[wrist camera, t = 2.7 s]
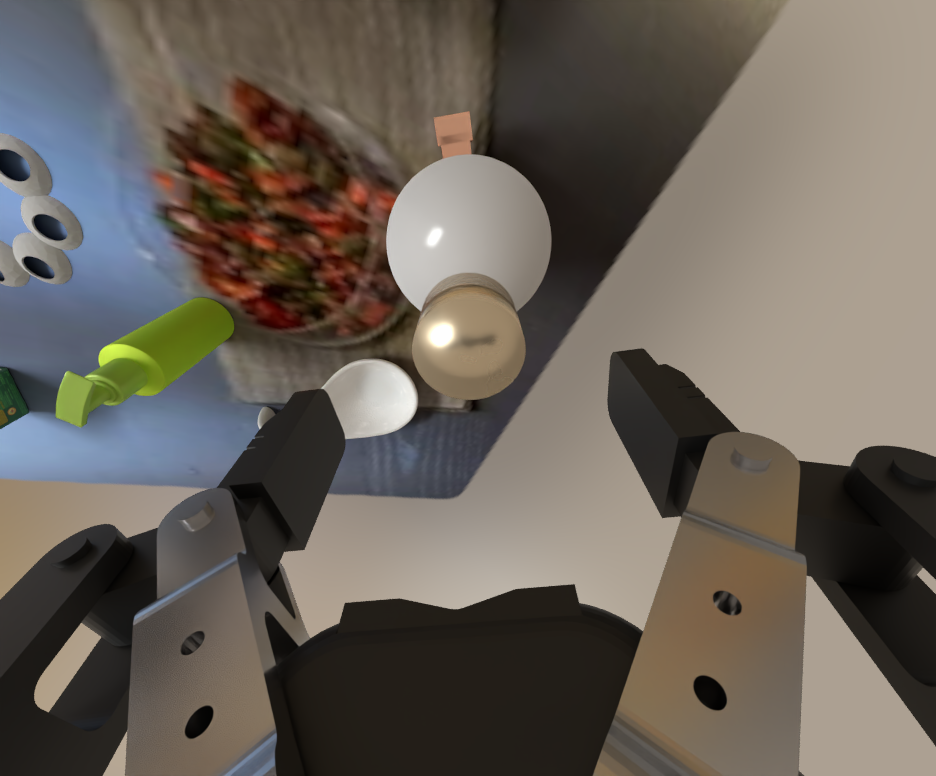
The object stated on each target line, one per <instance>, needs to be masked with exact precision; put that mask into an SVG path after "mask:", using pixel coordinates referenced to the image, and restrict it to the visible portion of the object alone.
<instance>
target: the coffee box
mask: <svg viewBox="0 0 936 776" xmlns="http://www.w3.org/2000/svg"><path fill="white" fill-rule="evenodd" d="M28 413H29V410H28V409H27V406H26V403H25V401H24V400H23V398H22V397H21V395H20V393H19V391H18V389H17V387H16V385H15V383H14V380H13V378H12V376H11V375H10V373H9V371H8V369H7V368H3V367H0V429H2V428H3V427H5V426H7V425H8V424H10V423H12V422H14V421H15V420H17V419H19V418H21V417H22V416H24V415H26V414H28Z"/></svg>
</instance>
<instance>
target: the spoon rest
mask: <svg viewBox="0 0 936 776" xmlns="http://www.w3.org/2000/svg"><path fill="white" fill-rule="evenodd" d="M321 389H324V390H325V391H326V392H327V393H328V395H329V397H330V399H331V402H332V404H333V407H334V409H335V411H336V414H337V416H338V419H339V421H340V423H341V426H342V428H343V431H344V434H345V439H352V438H363V437H371V436H377V435H383V434H387V433H391V432H394V431H396V430H398V429H400V428H402V427H403V426H405V425H406V424H407V423H408V422H409V421H410V420H411V419H412V418H413V416H414V414H415V413H416V410H417V406H418V393H417V390H416V387H415V384H414V382H413V381H412V379H411V378H410V376H409V375H408V374H407V373H406V372H405V371H404V370H403V369H402V368H400V367H399V366H398V365H396V364H394V363H392V362H389V361H386V360H382V359H376V358H369V359H361V360H357V361H354V362H351V363H349V364H347V365H346V366H344V367H342V368H341V369H340V370H338V371H337V372H336V373H335V374H334V375H333V376H332V377H331V378H330V379H329V380H328V381H327V382H326V383H325V385H324V386H323V387H322V388H321ZM274 415H276V414H275V413H274V411H273V410H272V409H270V408H269V407H264V408H262V410H261V412H260V413H259V416H258V426H259V428H260V429H261V427H262V426H263V425H264V423H266V422H267V421H268V420H269V419H271V418H272V417H273V416H274Z"/></svg>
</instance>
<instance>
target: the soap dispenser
mask: <svg viewBox="0 0 936 776" xmlns="http://www.w3.org/2000/svg"><path fill="white" fill-rule="evenodd" d="M233 331H234V322H233V319H232V317H231V315H230V313H229V312H228V311H227V310H226V309H225V308H224V307H223V306H222V305H221V304H219V303H218V302H216V301H214V300H212V299H208V298H194V299H192V300H190V301H188V302H187V303H185V304H183V305H181V306H179V307H177V308H175V309H174V310H172V311H170V312H168V313H166V314H164V315H163V316H161V317H159V318H157V319H155V320H153V321H152V322H150V323H148V324H146V325H144V326H142V327H141V328H139V329H137V330H135V331H133V332H131V333H129V334H128V335H126V336H124V337H122V338H120V339H118V340H117V341H115V342H113V343H111V344H109V345H107V346H106V347H104V348H103V349H102V350H101V352H100V354H99V364H100V368H98V369H96V370H95V371H93V372H91V373H90V374H88V375H86V376H85V377H82V376H80V375H77V374H75V373H73V372H70V371H67V372H66V374H65V376H64V378H63V380H62V383H61V385H60V388H59V392H58V396H57V402H56V418H59V419H61V420H64V421H66V422H69V423H71V424H73V425H76V426H78V427H82V426H84V425H85V424H87V418H88V413H90V412H91V411H93V410H94V409H96V408H97V407H98V406H100V405H101V404H105V405H112V406H113V405H118V404H120V403H122V402H124V401H125V400H126V399H128V398H129V397H130V396H132V395H133V394H136V395H142V396H151V395H155V394H157V393H159V392H161V391H162V390H163V389H164V388H166V387H167V386H168V385H170V384H171V383H172V382H173V381H175V380H176V379H177V378H178V377H180V376H181V375H182V374H184V373H185V372H186V371H187V370H189V369H190V368H191V367H192V366H194V365H195V364H196V363H197V362H199V361H200V360H201V359H203V358H204V357H205V356H206V355H208V354H209V353H210V352H211V351H213V350H214V349H215V348H217V347H218V346H219V345H220V344H222V343H223V342H224V341H225V340H227V339H228V338H229V337H230V336H231V335H232V334H233Z"/></svg>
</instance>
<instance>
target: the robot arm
mask: <svg viewBox="0 0 936 776" xmlns="http://www.w3.org/2000/svg"><path fill="white" fill-rule="evenodd" d="M608 411H609V416H610V419H611V421H612V423H613V425H614V427H615V429H616V431H617V433H618V435H619V437H620V439H621V441H622V442H623V444H624V446H625V448H626V450H627V452H628V454H629V456H630V458H631V459H632V462H633V463H634V465H635V467H636V469H637V471H638V473H639V475H640V476H641V479H642V481H643V482H644V484H645V486H646V488H647V490H648V492H649V493H650V496H651V498H652V500H653V501H654V503H655V505H656V507H657V509H658V511H659V513H660V515H661V516H662V518H666V517H678V516H681V521H680V523H679V526H678V529H677V532H676V535H675V538H674V541H673V544H672V547H671V550H670V553H669V556H668V559H667V562H666V565H665V568H664V571H663V574H662V577H661V580H660V583H659V586H658V589H657V592H656V595H655V598H654V601H653V604H652V607H651V610H650V613H649V616H648V619H647V622H646V625H645V628H644V631H642V630H640V629H639V628H638V627H636V626H635V625H633V624H631V623H629V622H628V621H626V620H624V619H622V618H621V617H619V616H617V615H614V614H612V613H610V612H608V611H606V610H603V609H599V608H597V607H593V606H590V605H586V604H581V603H579V602H578V597H577V593H576V589H575V585H574V584H573V585H561V586H549V587H536V588H524V589H515V590H512V591H509V592H507V593H504V594H501V595H498V596H496V597H493V598H490V599H487V600H484V601H481V602H479V603H476V604H473V605H470V606H467V607H465V608H461V609H455V610H454V609H447V608H442V607H438V606H433V605H428V604H423V603H418V602H413V601H409V600H404V599H388V600H376V601H365V602H364V601H363V602H352V603H345V605H344V609H343V612H342V616H341V619H340V623H339V624H337V625H334V626H332V627H330V628H328V629H326V630H324V631H322V632H320V633H319V634H317V635H315V636H314V637H312V638H310V637H309V635H308V633H307V631H306V628H305V626H304V623H303V621H302V618H301V615H300V612H299V609H298V606H297V603H296V600H295V598H294V595H293V592H292V589H291V586H290V583H289V581H288V578H287V575H286V572H285V569H284V567H283V566H282V564H281V563H280V560H281V558H282V555H283V553H284V552H286V551H297V550H304V549H305V547H306V544H307V542H308V539H309V537H310V534H311V532H312V530H313V527H314V525H315V522H316V520H317V517H318V515H319V512H320V510H321V507H322V505H323V502H324V500H325V497H326V495H327V493H328V490H329V488H330V485H331V483H332V480H333V478H334V475H335V473H336V471H337V468H338V466H339V463H340V461H341V458H342V456H343V453H344V450H345V434H344V431H343V428H342V426H341V423H340V421H339V419H338V416H337V414H336V411H335V409H334V407H333V404H332V402H331V399H330V397H329V395H328V393H327V392H326V391H325V390H324V389H316V390H308V391H300V392H295V393H294V394H293V395H292V397H291V398H290V400H289V401H288V402H287V404H286V405H285V407H284V408H283V409H282V411H279V412H278V413H277V414H276V415H274V416H273V417H272V418H271V419H269V420H268V421H267V422H266V423H264V425H263V426H262V427H261V429H260V430H259V431H258V433H257V434H256V435H255V439H252V441H251V442H250V444H249V445H248V446H247V450H244V452H243V453H242V454H241V456H240V457H239V458H238V460H237V461H236V463H235V464H234V465H233V467H232V468H231V469H230V471H229V472H228V473H227V475H226V476H225V477H224V479H223V480H222V482H221V483H220V484H219V486H218V487H217V488H213V489H208V490H205V491H202V492H199V493H197V494H195V495H193V496H191V497H189V498H187V499H186V500H184V501H182V502H181V503H180V504H178V505H177V506H176V507H174V508H173V509H172V510H171V511H170V512H169V513H168V514H167V515H166V516H165V518H164V519H163V520H162V522H161V523H160V525H159V527H158V528H156V529H153V530H150V531H147V532H144V533H141V534H138V535H135V536H132V537H129V538H126V537H125V536H124V535H123V534H122V533H121V532H120V531H119V530H118V529H117V528H116V527H115V526H113V525H110V524H103V525H97V526H93V527H90V528H87V529H85V530H82V531H80V532H78V533H76V534H74V535H72V536H71V537H69V538H68V539H66V540H64V541H63V542H61V543H60V544H58V545H57V546H55V547H54V548H53V549H51V550H50V551H49V552H48V553H47V554H45V555H44V556H43V557H42V558H41V559H40V560H39V561H38V562H37V563H36V564H35V565H34V566H33V567H32V568H31V569H30V570H29V571H28V572H27V573H26V574H25V575H24V576H23V577H22V578H21V579H20V580H19V581H18V582H17V583H16V584H15V585H14V586H13V587H12V588H11V589H10V591H9V592H7V593H6V594H5V596H4V597H3V598H2V599H1V600H0V776H103V774H104V772H105V770H106V768H107V767H108V765H109V763H110V761H111V759H112V757H113V755H114V754H115V752H116V750H117V748H118V746H119V744H120V743H121V741H122V739H123V737H124V735H125V733H126V732H127V748H126V769H125V776H804V775H803V774H802V773H801V772H799V748H800V723H801V699H802V674H803V650H804V649H803V648H804V625H805V600H806V576H811V577H812V578H813V579H814V581H815V582H816V583H817V585H818V586H819V587H820V589H821V590H822V591H823V593H824V594H825V596H826V597H827V598H828V600H829V601H830V602H831V604H832V605H833V606H834V608H835V609H836V611H837V612H838V613H839V615H840V616H841V617H842V618H843V620H844V622H845V623H846V624H847V626H848V627H849V628H850V630H851V631H852V632H853V634H854V635H855V637H856V638H857V639H858V641H859V642H860V643H861V645H862V646H863V648H864V649H865V650H866V652H867V653H868V654H869V656H870V657H871V658H872V660H873V661H874V663H875V664H876V665H877V667H878V668H879V669H880V671H881V672H882V673H883V675H884V676H885V678H887V680H888V682H889V683H890V684H891V686H892V687H893V688H894V690H895V691H896V693H897V694H898V695H899V697H900V698H901V699H902V701H903V702H904V703H905V705H906V706H907V708H908V709H909V710H910V711H911V713H912V714H913V716H914V717H915V719H916V720H917V721H918V723H919V724H920V725H921V727H922V728H923V729H924V731H925V732H926V734H927V735H928V736H929V738H930V739H931V740H932V741H933V743H934V745H935V746H936V594H935V593H934V592H933V591H932V590H931V589H930V588H929V587H928V586H927V585H926V584H925V583H924V582H923V581H922V580H921V579H920V578H919V577H918V576H917V574H918V573H919V571H920V570H921V569H922V568H925V569H926V570H927V571H928V572H929V573H930V574H931V575H932V576H933V577H934V578H935V579H936V457H934V456H931V455H928V454H926V453H922V452H919V451H915V450H911V449H907V448H902V447H895V446H873V447H868V448H865V449H863V450H861V451H860V452H859V453H858V454H857V455H856V457H855V459H854V460H853V462H852V464H851V466H841V465H832V464H823V463H814V462H805V461H798V460H797V458H796V457H795V456H794V455H793V454H792V453H791V452H790V451H789V450H788V449H787V448H785V447H784V446H782V445H780V444H779V443H777V442H775V441H773V440H771V439H769V438H766V437H763V436H760V435H756V434H751V433H745V432H740V431H739V430H738V429H737V428H736V427H735V426H734V425H733V424H732V423H731V422H730V421H729V420H728V418H727V417H726V416H725V415H724V414H723V413H722V412H721V411H720V410H719V409H718V408H717V407H716V406H715V405H714V404H713V403H712V402H711V401H710V400H709V399H708V398H705V395H704V394H703V392H702V391H701V390H700V389H699V388H698V387H697V388H696V387H695V384H694V383H693V382H692V381H691V380H690V379H689V378H688V377H687V376H686V375H685V374H684V373H683V372H681V371H679V370H677V369H675V368H673V367H671V366H669V365H667V364H663V365H658V364H657V363H656V362H655V361H654V360H653V359H652V357H651V356H650V355H649V354H648V353H647V352H646V351H645V350H644V349H634V350H627V351H619V352H613V353H612V355H611V359H610V371H609V386H608ZM80 623H83V624H84V625H85V626H87V627H88V628H90V629H91V630H93V631H94V632H95V633H97V634H98V635H100V636H101V639H100V640H99V642H98V643H97V644H96V646H95V647H94V649H93V650H92V652H91V653H90V654H89V656H88V657H87V659H86V660H85V662H84V663H83V664H82V666H81V667H80V669H79V670H78V671H77V673H76V674H75V676H74V677H73V679H72V680H71V682H70V683H69V684H68V686H67V687H66V689H65V690H64V692H63V693H62V694H61V696H60V697H59V699H58V700H57V701H56V703H55V705H54V706H53V707H52V709H51V710H50V711H49V713H48V712H46V711H44V710H42V709H40V708H39V707H38V706H37V705H36V704H35V701H34V691H35V687H36V684H37V682H38V680H39V678H40V676H41V675H42V673H43V672H44V671H45V669H46V668H47V667H48V665H49V664H50V663H51V661H52V660H53V659H54V657H55V656H56V655H57V654H58V652H59V651H60V650H61V648H62V647H63V646H64V644H65V643H66V642H67V640H68V639H69V638H70V637H71V635H72V634H73V633H74V631H75V630H76V629H77V627H78V626H79V625H80Z"/></svg>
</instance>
